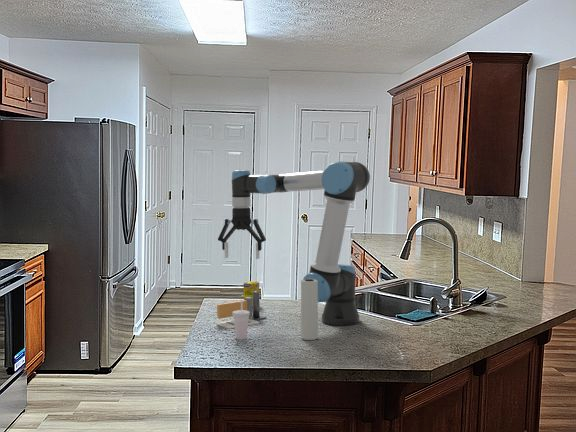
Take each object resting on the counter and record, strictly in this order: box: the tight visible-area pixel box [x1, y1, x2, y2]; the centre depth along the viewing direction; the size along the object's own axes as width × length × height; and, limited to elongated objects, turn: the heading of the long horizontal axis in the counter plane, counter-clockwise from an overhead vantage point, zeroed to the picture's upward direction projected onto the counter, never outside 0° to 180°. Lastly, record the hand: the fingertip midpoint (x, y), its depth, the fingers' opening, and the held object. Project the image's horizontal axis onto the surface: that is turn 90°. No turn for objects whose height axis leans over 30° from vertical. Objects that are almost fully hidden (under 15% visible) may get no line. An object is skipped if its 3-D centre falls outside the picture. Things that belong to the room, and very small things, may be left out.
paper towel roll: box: [300, 278, 319, 341], centre depth 238 cm, size 7×6×21 cm
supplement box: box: [242, 280, 260, 309], centre depth 293 cm, size 6×6×11 cm
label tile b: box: [216, 320, 235, 330], centre depth 258 cm, size 9×6×1 cm, turn 37°
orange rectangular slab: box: [216, 297, 253, 319], centre depth 264 cm, size 16×2×8 cm, turn 127°
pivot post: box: [249, 290, 267, 321], centre depth 270 cm, size 6×6×11 cm
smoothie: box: [232, 299, 250, 340], centre depth 238 cm, size 6×6×14 cm
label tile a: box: [248, 319, 261, 327], centre depth 263 cm, size 9×6×1 cm, turn 37°
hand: (242, 258), depth 275 cm, fingers open, 13 cm apart
